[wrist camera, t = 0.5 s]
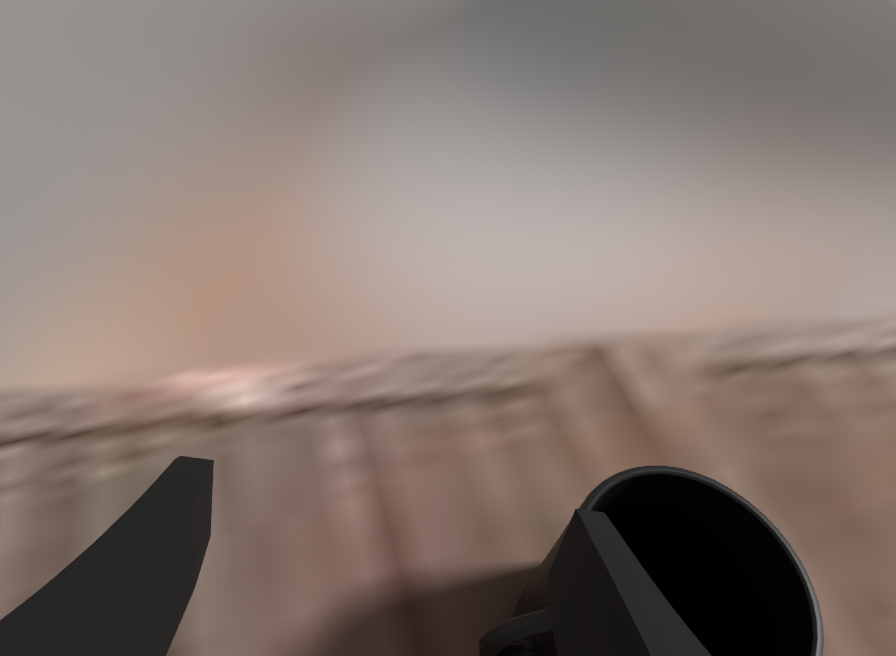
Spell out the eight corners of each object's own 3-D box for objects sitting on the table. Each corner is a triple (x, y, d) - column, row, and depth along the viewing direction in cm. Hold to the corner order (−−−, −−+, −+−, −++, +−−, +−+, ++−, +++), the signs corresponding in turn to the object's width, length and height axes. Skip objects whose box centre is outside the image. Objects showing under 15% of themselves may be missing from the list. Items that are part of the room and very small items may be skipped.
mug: (437, 574, 31) (476, 477, 25) (657, 547, 34) (744, 455, 28) (480, 815, 25) (549, 770, 18) (744, 755, 28) (881, 699, 22)
